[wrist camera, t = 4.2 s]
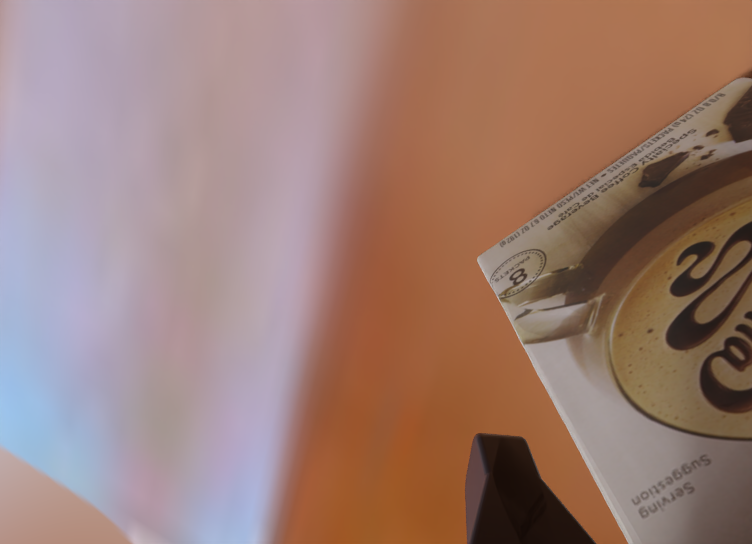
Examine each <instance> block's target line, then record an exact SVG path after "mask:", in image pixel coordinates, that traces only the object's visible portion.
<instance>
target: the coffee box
mask: <svg viewBox="0 0 752 544" xmlns="http://www.w3.org/2000/svg"><path fill="white" fill-rule="evenodd" d="M477 262H478V264H479V266H480V267H481V269H482V271H483V273H484V275H485V277H486V278H487V280H488V282H489V284H490V285H491V287H492V289H493V291H494V292H495V294H496V296H497V298H498V299H499V301H500V303H501V305H502V307H503V309H504V310H505V312H506V314H507V316H508V318H509V320H510V322H511V324H512V326H513V328H514V330H515V332H516V334H517V336H518V338H519V339H520V341H521V343H522V345H523V347H524V349H525V351H526V352H527V354H528V356H529V358H530V360H531V362H532V364H533V366H534V368H535V370H536V372H537V374H538V376H539V377H540V379H541V381H542V383H543V385H544V386H545V388H546V390H547V392H548V394H549V395H550V397H551V399H552V401H553V403H554V405H555V407H556V409H557V411H558V413H559V414H560V416H561V418H562V420H563V421H564V423H565V425H566V427H567V429H568V431H569V432H570V434H571V436H572V438H573V440H574V442H575V444H576V446H577V448H578V449H579V451H580V453H581V455H582V457H583V459H584V461H585V463H586V465H587V466H588V468H589V470H590V472H591V474H592V476H593V478H594V480H595V482H596V484H597V485H598V487H599V489H600V491H601V493H602V495H603V497H604V499H605V501H606V502H607V504H608V506H609V508H610V510H611V512H612V514H613V515H614V517H615V519H616V521H617V523H618V525H619V527H620V529H621V530H622V532H623V534H624V536H625V538H626V540H627V542H628V543H629V544H752V78H745V77H743V78H738V79H736V80H734V81H733V82H731V83H730V84H728V85H727V86H725V87H724V88H722V89H721V90H719V91H717V92H716V93H714V94H713V95H711V96H710V97H709V98H707V99H706V100H704V101H703V102H701V103H700V104H699V105H697V106H696V107H694V108H693V109H691V110H690V111H689V112H687V113H686V114H684V115H683V116H681V117H680V118H679V119H677V120H676V121H674V122H673V123H671V124H670V125H668V126H667V127H666V128H664V129H663V130H661V131H660V132H658V133H657V134H655V135H654V136H652V137H651V138H650V139H648V140H647V141H645V142H644V143H642V144H641V145H639V146H638V147H636V148H635V149H634V150H632V151H631V152H629V153H628V154H626V155H625V156H623V157H622V158H620V159H619V160H617V161H616V162H615V163H613V164H612V165H610V166H609V167H607V168H606V169H604V170H603V171H601V172H600V173H599V174H597V175H596V176H594V177H593V178H591V179H590V180H588V181H587V182H585V183H584V184H583V185H581V186H580V187H578V188H577V189H575V190H574V191H572V192H571V193H570V194H568V195H567V196H565V197H564V198H562V199H561V200H559V201H558V202H557V203H555V204H554V205H552V206H551V207H549V208H548V209H546V210H545V211H543V212H542V213H540V214H539V215H538V216H536V217H535V218H533V219H532V220H530V221H529V222H527V223H526V224H524V225H523V226H522V227H520V228H519V229H517V230H516V231H514V232H513V233H512V234H510V235H509V236H507V237H506V238H504V239H503V240H501V241H500V242H499V243H497V244H496V245H494V246H493V247H491V248H490V249H488V250H487V251H485V252H484V253H482V254H481V255H480V256H478V259H477Z"/></svg>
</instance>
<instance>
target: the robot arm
mask: <svg viewBox="0 0 752 544" xmlns="http://www.w3.org/2000/svg"><path fill="white" fill-rule="evenodd" d="M465 499H466V524H467V544H596V543H595V542H594V540H593V539H592V538H591V537H590V536H589V534H588V533H587V532H586V531H585V530H584V529H583V527H582V526H581V525H580V524H579V523H578V521H577V520H576V519H575V518H574V517H573V516H572V514H571V513H570V512H569V511H568V510H567V508H566V507H565V506H564V505H563V504H562V502H561V501H560V500H559V499H558V498H557V497H556V495H555V494H554V493H553V492H552V491H551V489H550V488H549V487H548V486H547V485H546V484H545V482H544V481H543V480H542V479H541V476H540V474H539V471H538V469H537V466H536V464H535V461H534V459H533V456H532V454H531V451H530V449H529V446H528V444H527V442H526V440H525V439H524V438H523V437H520V436H509V435H497V434H486V433H478V434H476V435H475V437H474V439H473V443H472V448H471V454H470V459H469V464H468V470H467V475H466V484H465Z"/></svg>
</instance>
